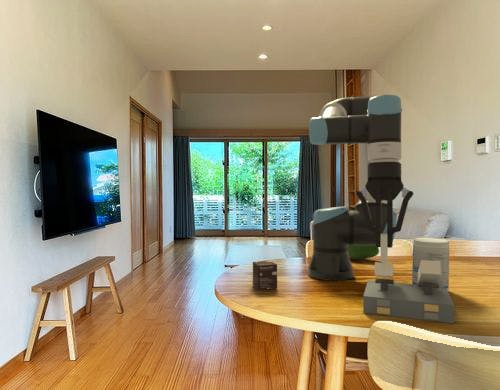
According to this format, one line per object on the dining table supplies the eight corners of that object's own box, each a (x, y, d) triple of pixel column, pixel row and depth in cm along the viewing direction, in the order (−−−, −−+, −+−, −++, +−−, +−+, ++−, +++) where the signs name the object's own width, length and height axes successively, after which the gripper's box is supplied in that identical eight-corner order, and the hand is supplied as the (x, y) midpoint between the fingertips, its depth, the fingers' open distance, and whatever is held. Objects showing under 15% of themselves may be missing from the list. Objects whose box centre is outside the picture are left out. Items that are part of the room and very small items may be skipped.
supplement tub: (406, 286, 111) (406, 237, 111) (435, 285, 112) (436, 237, 111) (424, 295, 101) (424, 242, 101) (456, 294, 102) (457, 241, 102)
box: (258, 290, 107) (257, 265, 107) (252, 285, 112) (252, 261, 112) (277, 289, 108) (277, 264, 108) (271, 284, 114) (271, 260, 114)
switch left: (374, 274, 87) (374, 262, 87) (377, 276, 99) (377, 265, 100) (392, 276, 85) (392, 263, 86) (393, 277, 98) (393, 266, 99)
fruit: (383, 260, 152) (383, 236, 151) (372, 264, 144) (372, 238, 144) (349, 255, 162) (349, 233, 162) (338, 259, 154) (338, 235, 154)
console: (363, 313, 87) (363, 285, 87) (368, 294, 102) (368, 271, 102) (454, 323, 80) (454, 293, 80) (444, 302, 95) (445, 276, 95)
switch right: (421, 273, 83) (420, 260, 84) (417, 284, 95) (417, 272, 96) (440, 274, 82) (440, 261, 83) (435, 285, 94) (434, 274, 95)
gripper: (354, 161, 86) (354, 262, 86) (415, 159, 81) (414, 266, 81) (357, 164, 93) (357, 256, 93) (413, 162, 88) (413, 260, 88)
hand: (384, 261), depth 87 cm, fingers closed
